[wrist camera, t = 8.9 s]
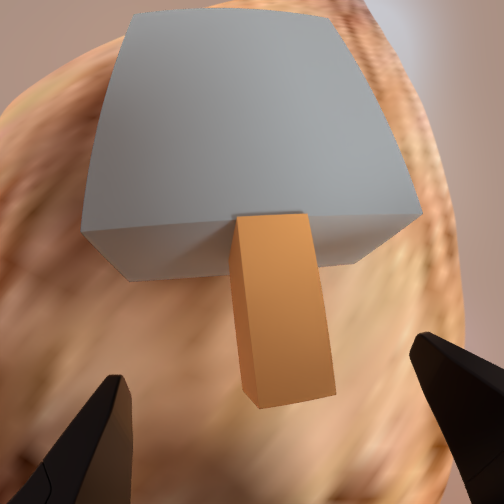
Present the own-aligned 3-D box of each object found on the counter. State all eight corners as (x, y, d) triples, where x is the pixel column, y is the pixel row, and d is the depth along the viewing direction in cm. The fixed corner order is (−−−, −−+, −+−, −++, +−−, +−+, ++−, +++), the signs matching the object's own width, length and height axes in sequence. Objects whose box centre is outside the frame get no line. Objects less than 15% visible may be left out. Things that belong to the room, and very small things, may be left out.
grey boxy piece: (370, 360, 14) (457, 355, 8) (136, 390, 12) (82, 414, 6) (304, 85, 19) (329, 16, 13) (144, 87, 17) (133, 11, 12)
